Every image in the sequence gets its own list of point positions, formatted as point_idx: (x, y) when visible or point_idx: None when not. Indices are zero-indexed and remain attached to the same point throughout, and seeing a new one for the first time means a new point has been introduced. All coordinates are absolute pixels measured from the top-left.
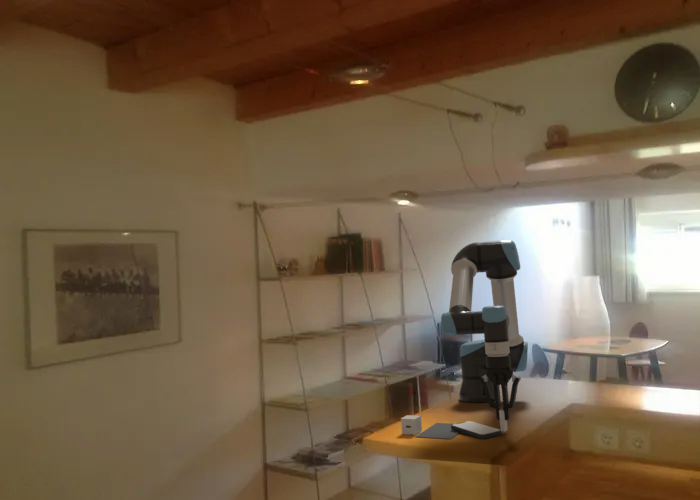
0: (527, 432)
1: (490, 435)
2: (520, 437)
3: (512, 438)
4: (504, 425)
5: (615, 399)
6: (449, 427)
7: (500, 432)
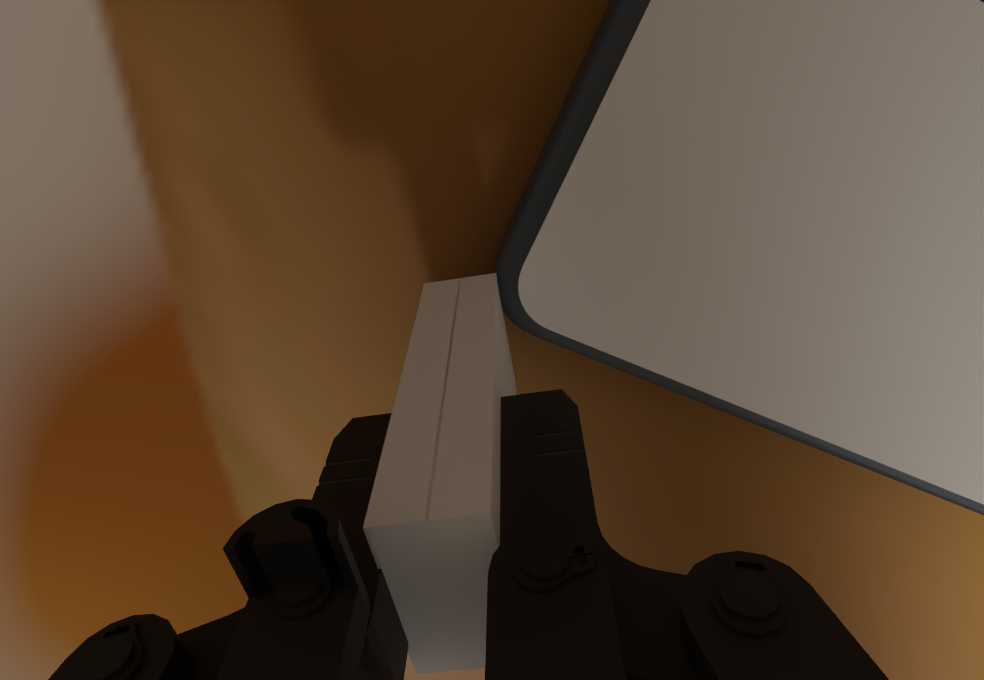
0: (260, 463)
1: (592, 45)
2: (191, 231)
3: (256, 138)
4: (419, 325)
5: None
6: None
7: (498, 256)
